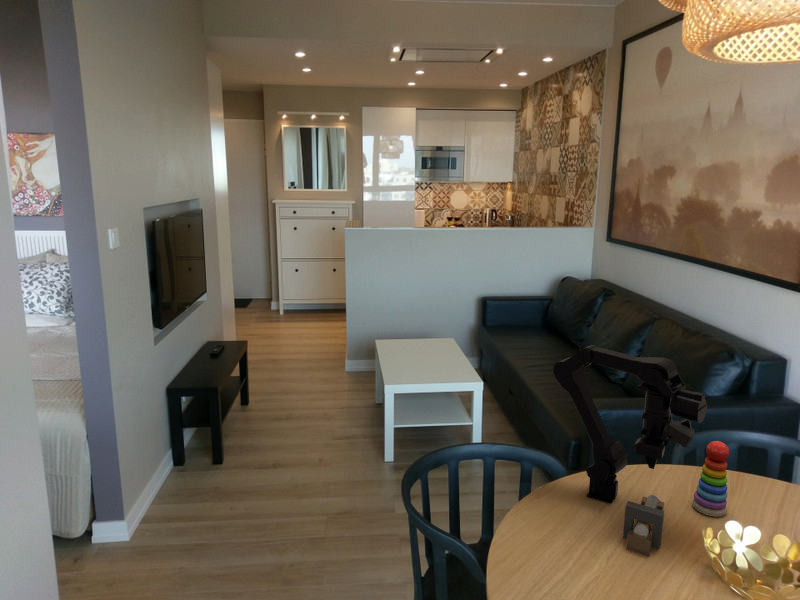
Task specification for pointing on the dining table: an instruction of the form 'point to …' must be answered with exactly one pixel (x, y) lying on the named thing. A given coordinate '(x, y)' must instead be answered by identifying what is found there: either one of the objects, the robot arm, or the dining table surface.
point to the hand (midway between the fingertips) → (651, 468)
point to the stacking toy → (713, 482)
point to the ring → (644, 520)
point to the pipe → (643, 529)
